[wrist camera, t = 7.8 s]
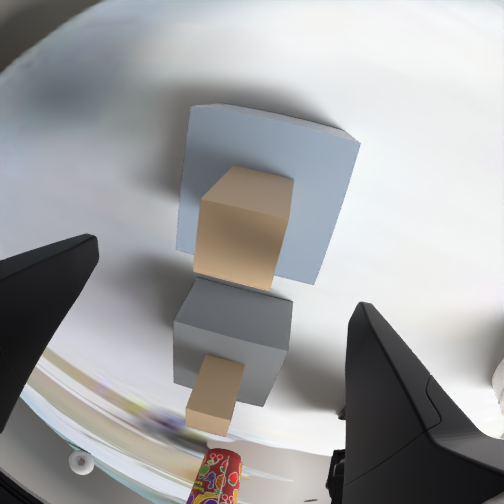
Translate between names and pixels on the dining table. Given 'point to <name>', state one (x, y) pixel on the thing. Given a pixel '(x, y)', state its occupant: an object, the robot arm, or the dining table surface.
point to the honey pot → (499, 384)
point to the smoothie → (217, 478)
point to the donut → (77, 456)
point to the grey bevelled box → (227, 350)
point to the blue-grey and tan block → (260, 193)
